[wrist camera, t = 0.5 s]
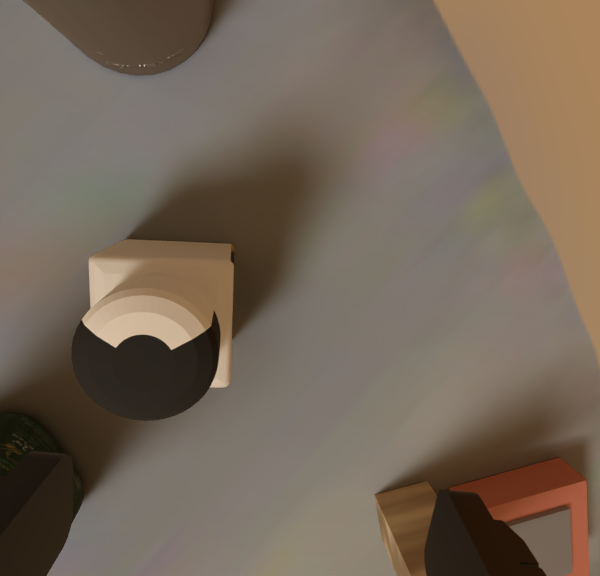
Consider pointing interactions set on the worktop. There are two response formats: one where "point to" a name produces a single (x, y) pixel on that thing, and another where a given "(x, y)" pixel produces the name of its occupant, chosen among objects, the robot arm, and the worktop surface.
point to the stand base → (542, 512)
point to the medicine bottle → (156, 326)
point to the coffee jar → (30, 448)
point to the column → (406, 525)
